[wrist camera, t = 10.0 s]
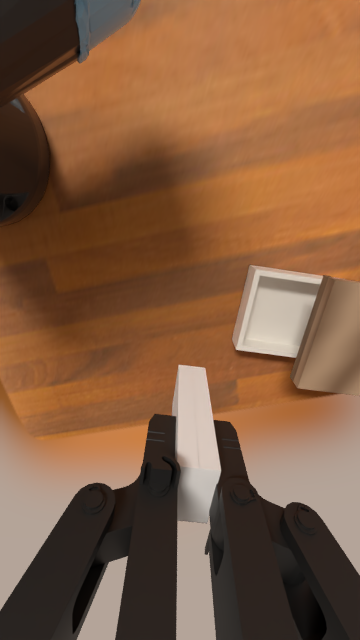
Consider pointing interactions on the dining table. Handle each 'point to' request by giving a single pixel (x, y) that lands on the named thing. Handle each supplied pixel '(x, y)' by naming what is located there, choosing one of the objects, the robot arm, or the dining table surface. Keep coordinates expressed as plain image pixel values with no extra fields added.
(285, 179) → the dining table surface
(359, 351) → the shelf
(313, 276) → the tray
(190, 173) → the dining table surface
